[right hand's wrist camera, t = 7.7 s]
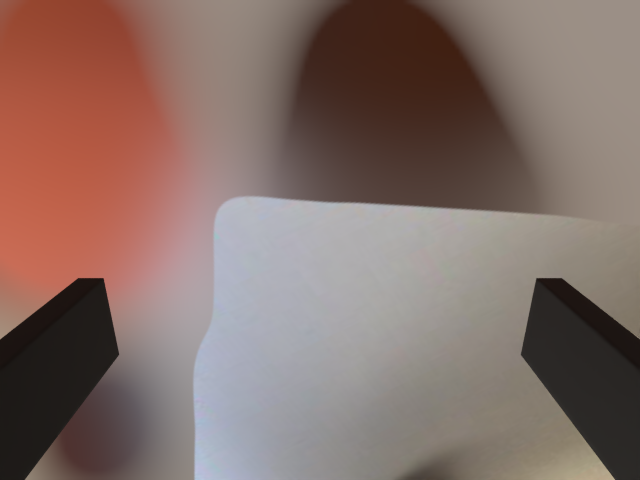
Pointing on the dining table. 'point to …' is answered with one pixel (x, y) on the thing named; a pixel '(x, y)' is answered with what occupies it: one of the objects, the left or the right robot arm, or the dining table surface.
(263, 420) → the dining table surface
